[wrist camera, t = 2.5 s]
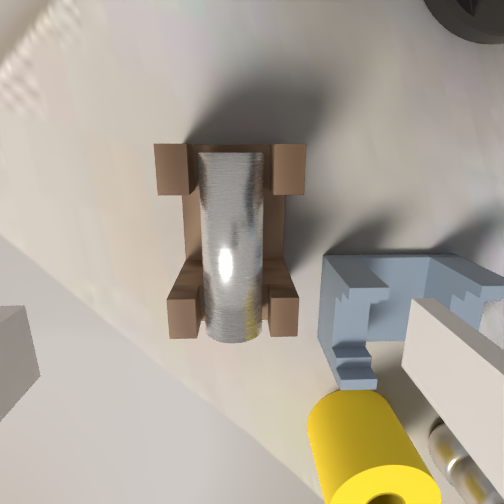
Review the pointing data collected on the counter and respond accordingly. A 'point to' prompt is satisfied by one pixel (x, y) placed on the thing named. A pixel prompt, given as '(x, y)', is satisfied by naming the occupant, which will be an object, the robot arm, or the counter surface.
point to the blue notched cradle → (391, 303)
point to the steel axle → (232, 243)
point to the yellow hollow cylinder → (366, 453)
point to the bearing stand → (274, 269)
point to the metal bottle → (461, 468)
